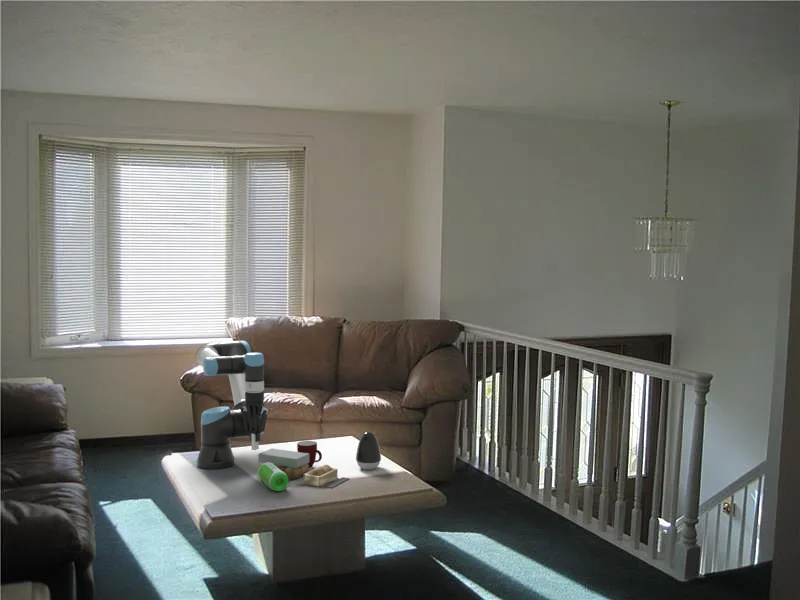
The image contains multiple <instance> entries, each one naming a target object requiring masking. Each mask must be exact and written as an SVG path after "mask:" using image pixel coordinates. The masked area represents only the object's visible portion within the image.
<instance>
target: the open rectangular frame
mask: <svg viewBox="0 0 800 600" xmlns="http://www.w3.org/2000/svg"><path fill="white" fill-rule="evenodd" d="M322 466H323V465H321V466H318V467H315V468H314V469H312V470H310V471H308V472H307V473H305V474H303V476H302V477H303V480H302V481H303V484H305V485H308V486H315V487H316V486H317V487H322V486H324V485H326V484H328V483H330V482H333V481H334V480H336V479H337V478H338V468H335V467H331V468H332V470H331V471H329V472H327V473H325V474H323V475H321V476H314V475H308V473H309V472H311V471H313V470H315V469H317V468H319V467H322Z"/></svg>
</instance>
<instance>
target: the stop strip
mask: <svg viewBox="0 0 800 600" xmlns="http://www.w3.org/2000/svg"><path fill="white" fill-rule="evenodd" d="M349 480H350V477H344V476H343V477H340V478H339V479H337V480H336V479H335V481H334V480H333V481H332V482H331V483H329V484H327V485H325V486H324V487H325V488H327V489H333V488H335V487H337V486H339V485H341V484H343V483H344V482H346V481H349Z"/></svg>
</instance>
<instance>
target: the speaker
mask: <svg viewBox="0 0 800 600" xmlns="http://www.w3.org/2000/svg"><path fill="white" fill-rule="evenodd" d="M259 466H260V467H258V469H257V475H258V477H259V478H260V480H261V481H263V482H264V483H265V485H266V486H267V487H268V488H269V489H271V490H273V492H274V491H275V492H282V491H284V490H285V489H287V487H288V486H289V483H290V482H289V481H290V480H288V477H287V475H286V474H285V473H284V472H283V471H281V470H280V469H279V468H277V467H276V466H275V465H274V464H273V463H270V462H266V463H260V465H259Z"/></svg>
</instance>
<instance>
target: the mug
mask: <svg viewBox="0 0 800 600" xmlns="http://www.w3.org/2000/svg"><path fill="white" fill-rule="evenodd" d="M296 445H297V446H296V447H297V451H296V452H301V453H309V463H308V465H309V469H311V468H313V466H314V464H315V463H319V462H320V461H321V460H322V459H323V455H322V454H323V453H322V452H321V451H320V450H319V449H318V443H317V441H313V440H302V441H299V442H297V443H296ZM317 454H318V460H316V459H317Z"/></svg>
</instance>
